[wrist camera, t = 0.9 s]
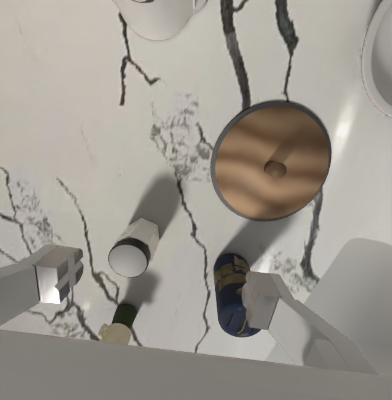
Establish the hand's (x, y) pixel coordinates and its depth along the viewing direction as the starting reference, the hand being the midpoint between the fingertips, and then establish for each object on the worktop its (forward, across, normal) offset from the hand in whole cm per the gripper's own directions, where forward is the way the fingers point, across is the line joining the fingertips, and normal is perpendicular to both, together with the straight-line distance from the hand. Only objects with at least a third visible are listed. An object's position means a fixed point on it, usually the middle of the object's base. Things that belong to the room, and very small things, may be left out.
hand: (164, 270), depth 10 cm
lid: (+37, -18, -2) cm, 41 cm away
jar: (+38, +10, +19) cm, 43 cm away
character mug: (+38, +14, +46) cm, 61 cm away
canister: (+38, -14, +26) cm, 48 cm away
